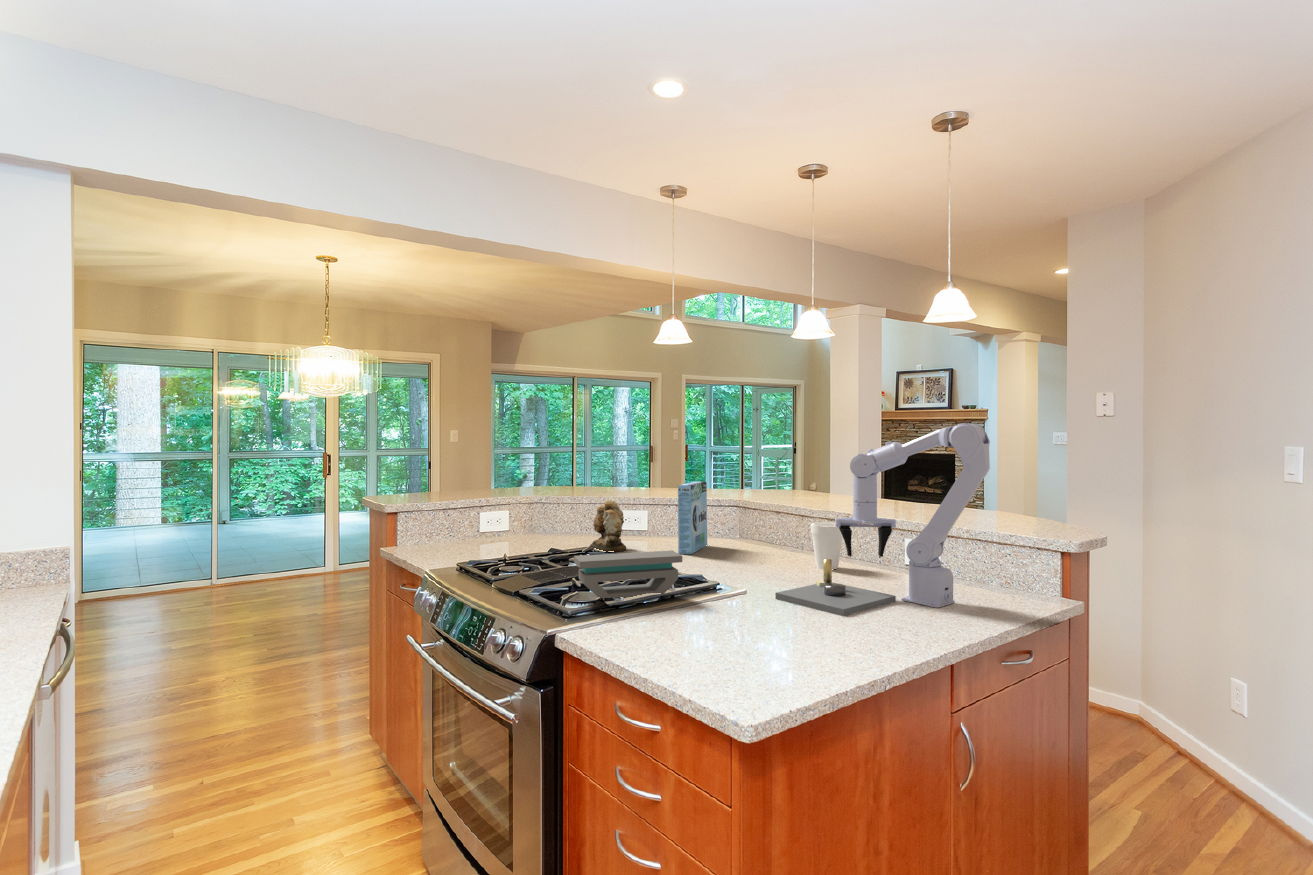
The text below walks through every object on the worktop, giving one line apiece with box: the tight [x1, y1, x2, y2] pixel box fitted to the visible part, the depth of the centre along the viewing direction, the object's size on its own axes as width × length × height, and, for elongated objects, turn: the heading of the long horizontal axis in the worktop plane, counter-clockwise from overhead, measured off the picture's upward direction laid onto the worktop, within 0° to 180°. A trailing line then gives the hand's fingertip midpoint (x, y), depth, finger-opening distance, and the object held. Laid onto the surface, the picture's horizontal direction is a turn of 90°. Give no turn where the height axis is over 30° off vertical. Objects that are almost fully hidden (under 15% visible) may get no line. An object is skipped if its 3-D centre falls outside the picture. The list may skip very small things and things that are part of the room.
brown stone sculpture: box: [589, 499, 627, 553], centre depth 241 cm, size 18×12×17 cm, turn 27°
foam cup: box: [810, 521, 843, 570], centre depth 206 cm, size 10×9×13 cm
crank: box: [823, 559, 846, 596], centre depth 170 cm, size 10×5×7 cm, turn 0°
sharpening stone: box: [573, 550, 683, 599], centre depth 168 cm, size 25×8×11 cm, turn 106°
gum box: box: [677, 481, 708, 555], centre depth 239 cm, size 20×5×23 cm, turn 160°
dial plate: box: [774, 580, 897, 617], centre depth 168 cm, size 20×20×2 cm
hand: (865, 555), depth 175 cm, fingers open, 7 cm apart
